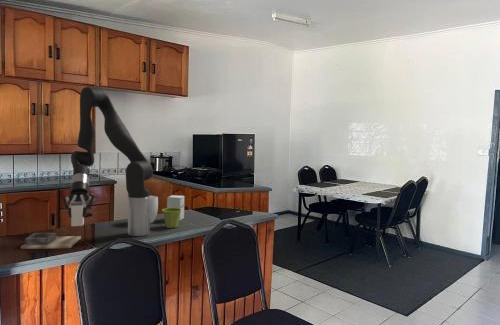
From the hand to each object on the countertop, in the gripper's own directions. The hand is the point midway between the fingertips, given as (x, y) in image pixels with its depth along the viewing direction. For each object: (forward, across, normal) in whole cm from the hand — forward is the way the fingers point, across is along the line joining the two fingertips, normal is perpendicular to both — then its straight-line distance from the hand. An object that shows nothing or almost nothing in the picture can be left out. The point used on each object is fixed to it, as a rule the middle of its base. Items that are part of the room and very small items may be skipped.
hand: (77, 216), depth 164 cm
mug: (-8, +29, +22) cm, 37 cm away
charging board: (+13, -8, 0) cm, 15 cm away
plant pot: (0, +42, +14) cm, 44 cm away
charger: (+2, 0, +4) cm, 5 cm away
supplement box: (-11, +45, +25) cm, 53 cm away
